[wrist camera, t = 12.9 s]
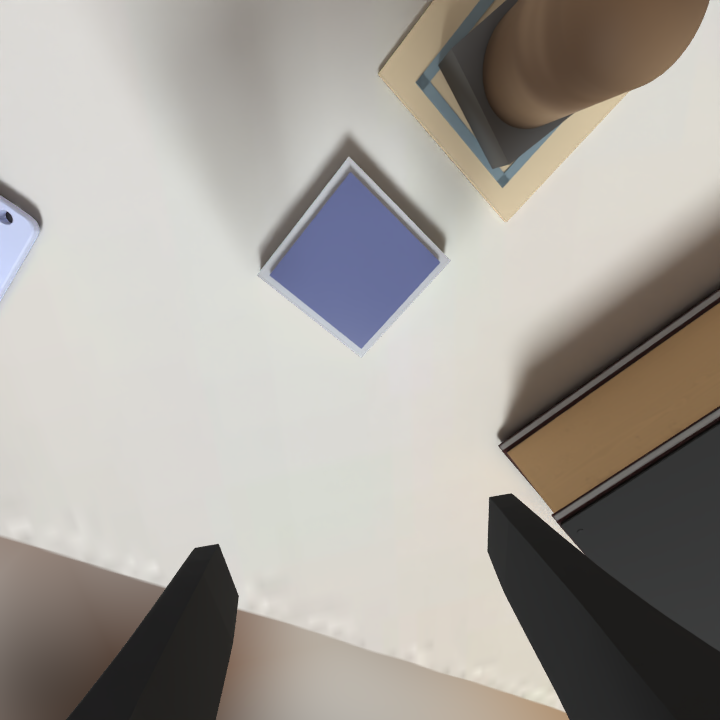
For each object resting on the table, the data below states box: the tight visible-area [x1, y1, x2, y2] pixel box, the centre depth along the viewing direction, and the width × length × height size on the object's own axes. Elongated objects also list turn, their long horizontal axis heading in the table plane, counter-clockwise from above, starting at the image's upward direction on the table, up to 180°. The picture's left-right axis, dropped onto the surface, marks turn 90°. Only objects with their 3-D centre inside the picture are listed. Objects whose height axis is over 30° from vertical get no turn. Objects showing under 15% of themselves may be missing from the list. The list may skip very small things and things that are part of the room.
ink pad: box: [257, 157, 451, 358], centre depth 16 cm, size 6×6×1 cm
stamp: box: [438, 0, 710, 169], centre depth 11 cm, size 4×4×6 cm
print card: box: [378, 0, 629, 222], centre depth 14 cm, size 8×7×1 cm
